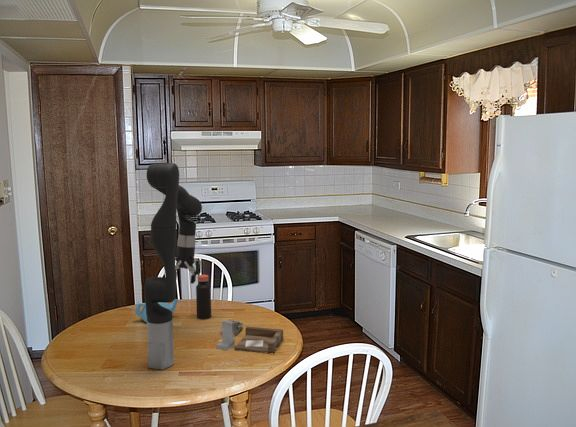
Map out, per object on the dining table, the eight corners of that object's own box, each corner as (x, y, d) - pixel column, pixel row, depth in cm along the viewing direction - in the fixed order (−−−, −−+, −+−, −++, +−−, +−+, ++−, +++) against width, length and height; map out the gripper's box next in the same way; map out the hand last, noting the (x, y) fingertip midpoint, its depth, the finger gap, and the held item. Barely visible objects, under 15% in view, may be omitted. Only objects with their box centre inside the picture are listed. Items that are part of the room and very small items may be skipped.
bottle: (210, 314, 250) (209, 273, 247) (212, 318, 243) (211, 277, 240) (195, 315, 248) (194, 274, 245) (197, 320, 241) (196, 278, 238)
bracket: (226, 350, 207) (226, 326, 205) (216, 348, 209) (216, 324, 208) (234, 345, 211) (234, 322, 210) (224, 343, 214) (224, 320, 212)
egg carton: (235, 337, 221) (235, 328, 221) (219, 335, 223) (219, 326, 223) (244, 328, 231) (244, 319, 231) (229, 326, 234) (229, 317, 233)
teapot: (152, 312, 252) (151, 290, 251) (179, 315, 247) (178, 294, 246) (133, 322, 238) (132, 300, 236) (161, 326, 233) (160, 303, 231)
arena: (273, 353, 203) (273, 344, 203) (234, 349, 207) (234, 340, 207) (283, 338, 219) (283, 329, 218) (247, 335, 223) (246, 326, 222)
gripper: (167, 243, 222) (164, 281, 224) (197, 248, 218) (194, 286, 220) (175, 241, 229) (172, 277, 231) (205, 246, 226) (202, 282, 227)
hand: (183, 281), depth 225 cm, fingers open, 8 cm apart
